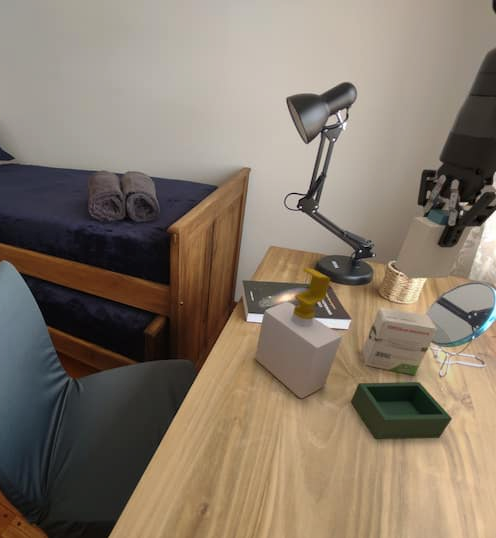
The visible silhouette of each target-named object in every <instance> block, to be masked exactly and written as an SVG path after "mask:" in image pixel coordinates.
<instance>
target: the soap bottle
mask: <svg viewBox="0 0 496 538" xmlns="http://www.w3.org/2000/svg"><path fill="white" fill-rule="evenodd" d="M302 271H303V272H304V273H306V274H309V275H310V276H311V279H310V283H309V287H308V288H307V289H306V290H304V291H302V292H299V293H297V294H295V295H294V298H295V300H298V305H295V304H294V303H292V302H289V301H285V302H282V303H280V304H277V305H274V306H272V307H269V308H267V309H265V310H264V312H263V316H262V320H261V321H262V322H261V325H260V331H259V334H258V339H257V345H256V350H255V355H254V358H255V360H256V361H257V362H258V363H259V364H261V365H262V366H263V367H264V368H265V369H266V370H267V371H268V372H269V373H270V374H272V375H273V376H274V377H275V378H276V379H277V380H279V382H281V383H282V385H284V386H285V387H287V388H288V390H289V391H291V392H292V393H293V394H294V395H295V396H297V397H298V398H300V399H304V398H306V397H307V396H309V395H311V394H313V393H315V392H317V391H318V390H321V389H322V388H323V387H325V385H326V383H327V380H328V377H329V375H330V372H331V369H332V367H333V363H334V361H335V358H336V355H337V352H338V349H339V347H340V344H341V340H342V336H341V335H340V334H339V333H338V332H336V331H335V330H333V329H332V328H330V327H329V326H327V325H325V324H324V323H323V322H322V321H320V320H318V319H317V318H315V315H316V311H315V309H314V308H315V306H316V304H317V303H320V302H322V301H324V299H325V298H326V296H327V293H328V290H329V286H330V284H331V278H330V277H329V276H327V275H326V274H323V273H321V272H320V271H318V270H315V269H314V268H303V269H302Z"/></svg>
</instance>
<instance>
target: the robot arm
mask: <svg viewBox="0 0 496 538" xmlns="http://www.w3.org/2000/svg"><path fill="white" fill-rule="evenodd" d="M490 3H491V9H492V12H493V14H494V15H495V16H496V0H491V2H490ZM451 125H452V126H451V128H450V130H449V132H448V135H447V137H446V140H445V143H444V145H443V147H442V149H441V152H440V154H439V157H438V160H439V161H440V163H442V164H441V165H440V166H439V167H438V168H437V169H436V168H429V169H424V170H422V171H421V175H420V176H421V177H420V183H419V191H418V198H417V205H418V206H420V207H422V208H423V209H422V211H423V213H424V214H423V216H422V217H428V215H429V213H430V210H446V208H447V210H450V216H449V220H448V224H446V226H445V229H444V231H443V233H442V235H441V237H440V239H439V242H438V245H439V246H440V247H453V246H454V245H456V244H457V243H458V241H459V239H460V237H461V235H462V233H463V231H464V229H465V228H466V227H472V228H479V227H481V226H483V225H484V223H486V221H488V219H489V218H490V217H491V216H492V215H493V214H494V213H495V212H496V188H495V187H494V186H493V185H494V177H495V174H496V46H495V47H493V48H491V49H490V50H488V51H487V52H486V53H485V55H484V56H483V58H482V59H481V61H480V63H479V65H478V68H477V70H476V73H475V75H474V78H473V80H472V83H471V85H470V87H469V89H468V92H467V95H466V97H465V99H464V100H463V102H462V103H461V106H460V108H459V110H458V111H457V113H456V116H455V118H454V120H453V123H452V124H451ZM428 192H429V195H428ZM460 203H461V204H460ZM461 212H462V214H461ZM459 215H462V218H459Z"/></svg>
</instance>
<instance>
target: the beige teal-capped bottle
mask: <svg viewBox="0 0 496 538" xmlns="http://www.w3.org/2000/svg"><path fill="white" fill-rule="evenodd" d="M449 216H450V210H449V209H444V210H430V213H429V215H428V217H423V216H414V217H413V220H412V223H411V225H410V228H409V230H408V233H407V234H406V237H405V239H404V242H403V245H402V246H401V249H400V251H399V254H398V256H397V258H396V261H395V263H394V268H395V269H397V270H398V271H399V272H400V273H402V274H403V275H404V276H405V277H407V278H408V279H447V278H448V276H449V275H450V273H451V270H452V269H453V267H454V265H455V263H456V261H457V259H458V257H459V255H460V253H461V251H462V249H463V247H464V245H465V243H466V241H467V239H468V237H469V235H470V233H471V231H472V229H473V227H466V228H465V229H464V231H463V233H462V235H461V237H460V239H459V241H458V243H457V244H456V245H454V246H453V247H440V246H439V245H438V242H439V239H440V237H441V235H442V233H443V231H444V229H445V226H446V224H448V220H449ZM459 218H462V214H460V215H459Z"/></svg>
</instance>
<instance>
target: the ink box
mask: <svg viewBox="0 0 496 538" xmlns="http://www.w3.org/2000/svg"><path fill="white" fill-rule="evenodd" d="M437 332H438V328H437V327H436V324H435V323H434V321H433V319H432V318H431V316H430V315H429V314H424V313H418V312H411V311H405V310H399V309H394V308H393V309H392V308H387V307H380V306H379V307H378V309H377V312H376V315H375V317H374V319H373V322H372V324H371V327H370V330H369V332H368V335H367V338H366V340H365V342H364V345H363V347H362V350H361V353H362V354H361V355H362V358H363V362H364V365H365V366H367V367H370V368H371V367H373V368H376V369H381V370H387V371H392V372H396V373H402V374H407V375H412V376H415V375H416V374H417V371H418V369H419V367H420V365H421V363H422V361H423V360H424V357H425V356H426V353H427V351H428V349H429V348H430V345H431V344H432V341H433V339H434V338H435V335H436V334H437Z"/></svg>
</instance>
